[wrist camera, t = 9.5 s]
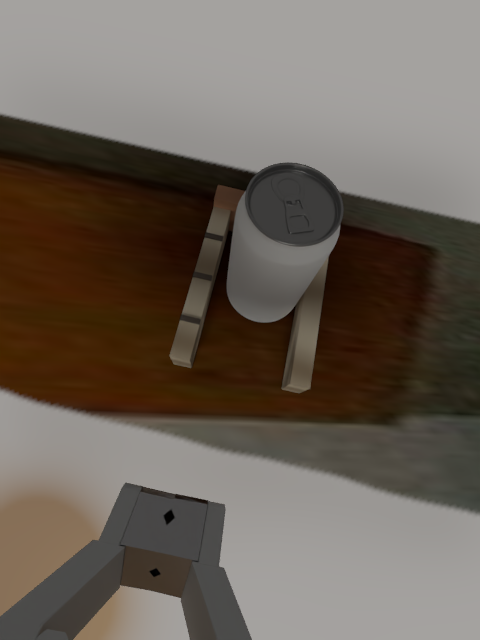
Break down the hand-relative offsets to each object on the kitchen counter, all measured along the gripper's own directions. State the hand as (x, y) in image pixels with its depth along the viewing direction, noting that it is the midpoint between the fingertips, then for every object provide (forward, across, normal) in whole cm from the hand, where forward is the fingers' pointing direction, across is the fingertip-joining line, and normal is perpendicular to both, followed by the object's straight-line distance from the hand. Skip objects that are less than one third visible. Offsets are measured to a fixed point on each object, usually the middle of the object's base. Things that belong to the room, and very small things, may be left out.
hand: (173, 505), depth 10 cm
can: (+22, -3, +1) cm, 22 cm away
